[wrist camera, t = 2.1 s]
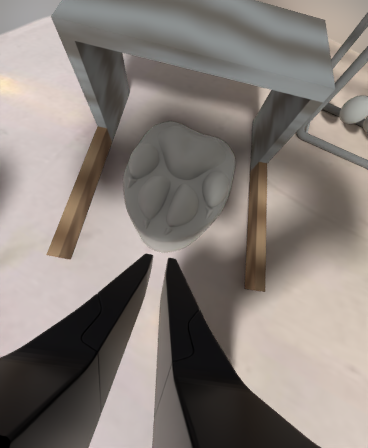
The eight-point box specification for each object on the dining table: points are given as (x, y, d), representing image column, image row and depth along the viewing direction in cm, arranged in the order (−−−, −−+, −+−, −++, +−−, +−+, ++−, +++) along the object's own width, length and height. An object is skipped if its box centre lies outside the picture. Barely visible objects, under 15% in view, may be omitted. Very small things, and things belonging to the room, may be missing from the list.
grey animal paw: (222, 181, 26) (250, 136, 18) (194, 266, 22) (214, 259, 14) (156, 155, 26) (154, 99, 18) (116, 236, 22) (88, 211, 14)
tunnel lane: (253, 290, 22) (368, 306, 10) (59, 257, 20) (-91, 228, 8) (259, 123, 30) (325, 20, 18) (122, 91, 28) (92, -46, 16)
